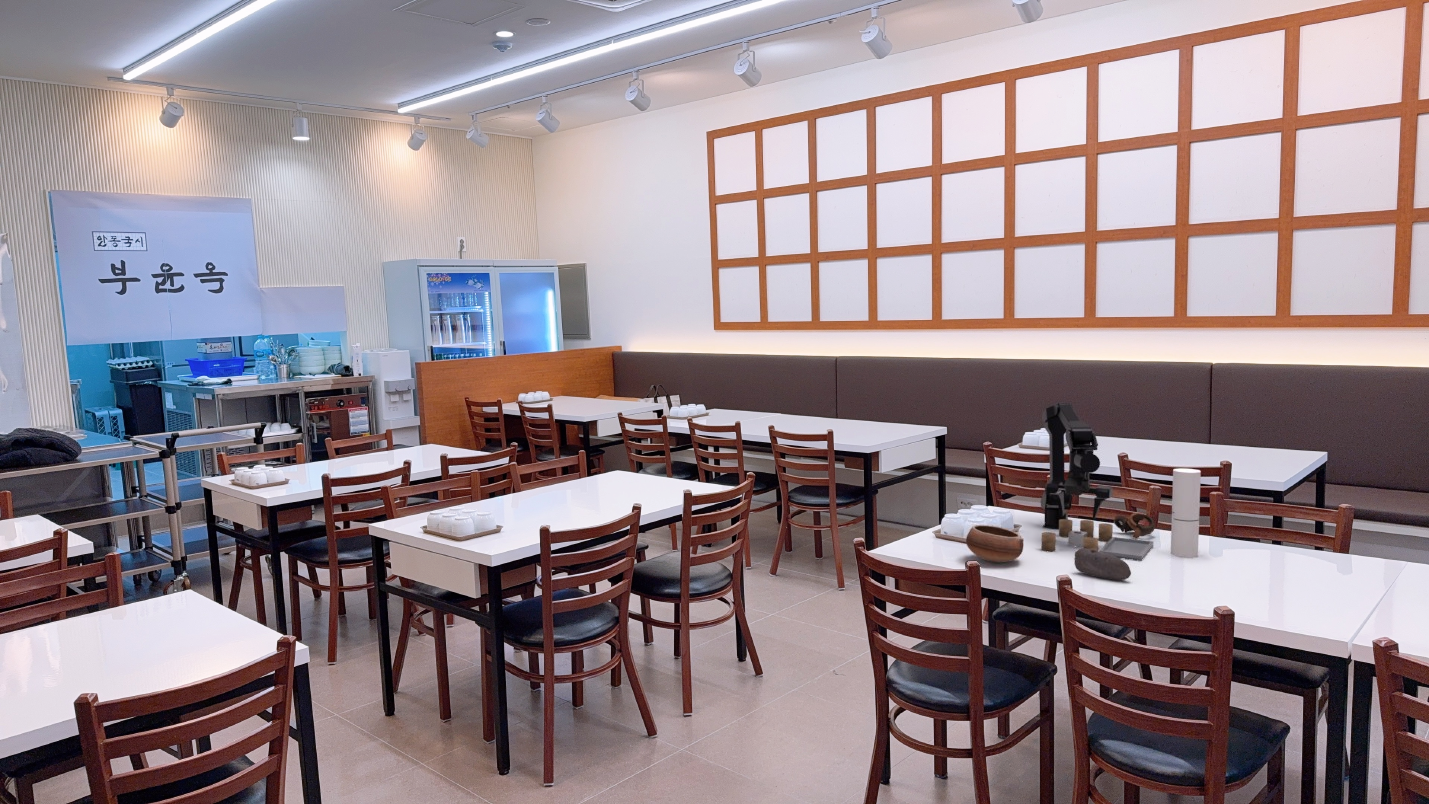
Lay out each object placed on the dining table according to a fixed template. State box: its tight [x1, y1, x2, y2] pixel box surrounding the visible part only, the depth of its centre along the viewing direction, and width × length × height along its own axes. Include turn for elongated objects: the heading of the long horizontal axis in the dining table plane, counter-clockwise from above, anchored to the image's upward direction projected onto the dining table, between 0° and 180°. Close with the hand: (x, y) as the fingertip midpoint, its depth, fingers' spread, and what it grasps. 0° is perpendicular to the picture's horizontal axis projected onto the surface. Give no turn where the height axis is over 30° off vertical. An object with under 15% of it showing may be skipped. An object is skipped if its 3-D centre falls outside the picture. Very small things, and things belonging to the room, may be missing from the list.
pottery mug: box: [1113, 512, 1156, 539], centre depth 295 cm, size 12×10×8 cm
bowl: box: [965, 524, 1024, 564], centre depth 268 cm, size 16×16×10 cm
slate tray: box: [1098, 536, 1155, 562], centre depth 277 cm, size 12×20×2 cm, turn 146°
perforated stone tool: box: [1073, 547, 1132, 581], centre depth 250 cm, size 15×5×7 cm, turn 39°
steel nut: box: [1067, 529, 1087, 548], centre depth 284 cm, size 4×4×4 cm
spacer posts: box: [1041, 518, 1114, 553], centre depth 285 cm, size 16×26×5 cm, turn 146°
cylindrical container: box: [1170, 467, 1202, 559], centre depth 270 cm, size 7×7×25 cm
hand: (1078, 517), depth 284 cm, fingers open, 9 cm apart
